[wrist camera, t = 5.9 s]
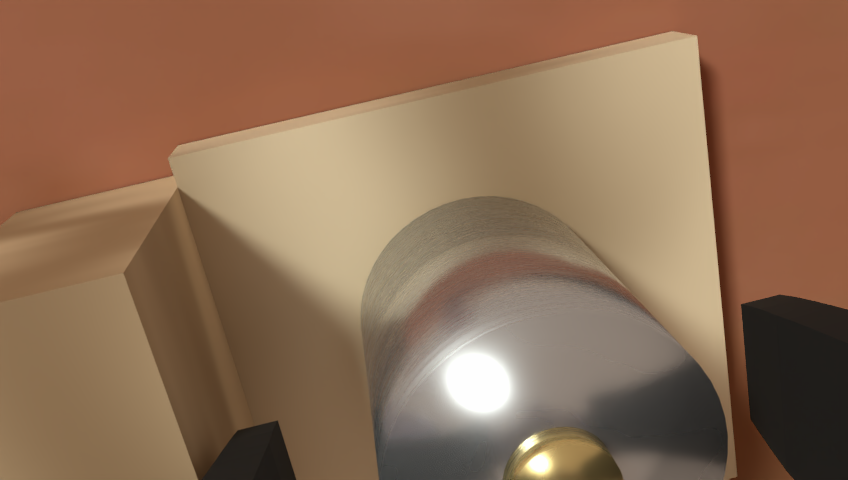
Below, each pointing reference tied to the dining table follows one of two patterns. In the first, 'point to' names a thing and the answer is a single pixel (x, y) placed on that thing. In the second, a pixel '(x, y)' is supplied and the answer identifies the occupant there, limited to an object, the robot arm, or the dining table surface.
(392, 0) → the dining table surface
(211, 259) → the press frame
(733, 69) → the dining table surface
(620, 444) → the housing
